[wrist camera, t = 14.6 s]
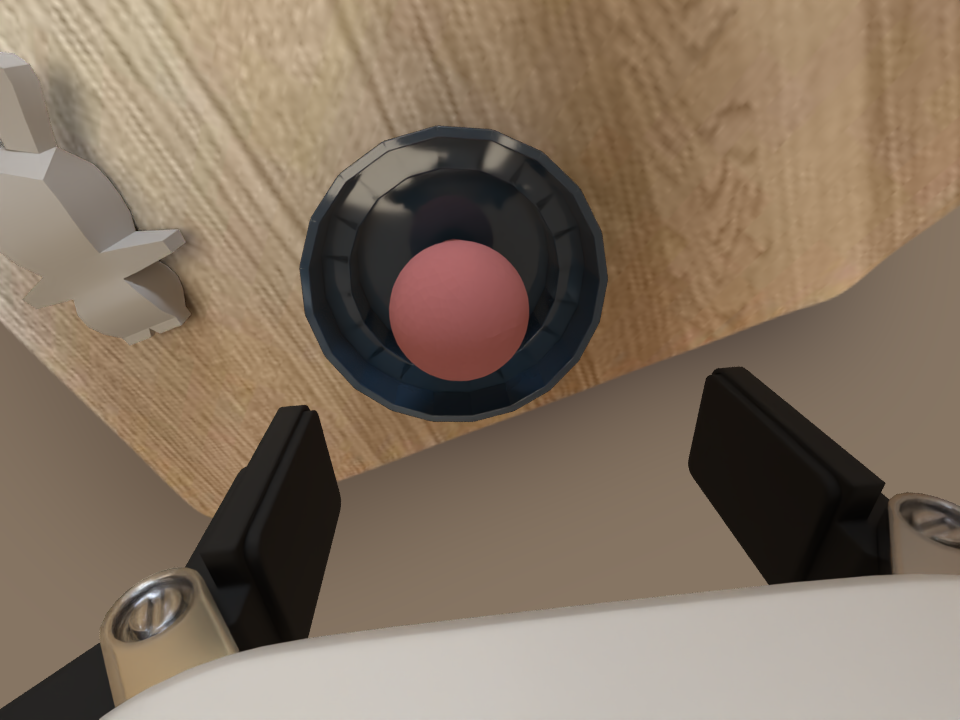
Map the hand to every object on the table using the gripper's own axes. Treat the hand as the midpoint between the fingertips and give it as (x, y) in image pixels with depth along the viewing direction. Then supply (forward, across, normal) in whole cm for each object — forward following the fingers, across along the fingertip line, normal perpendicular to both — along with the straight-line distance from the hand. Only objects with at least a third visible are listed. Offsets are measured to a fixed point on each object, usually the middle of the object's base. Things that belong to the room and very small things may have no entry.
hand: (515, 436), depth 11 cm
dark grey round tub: (+22, +1, +2) cm, 22 cm away
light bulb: (+22, +1, +2) cm, 22 cm away
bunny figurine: (+22, +23, -3) cm, 32 cm away
